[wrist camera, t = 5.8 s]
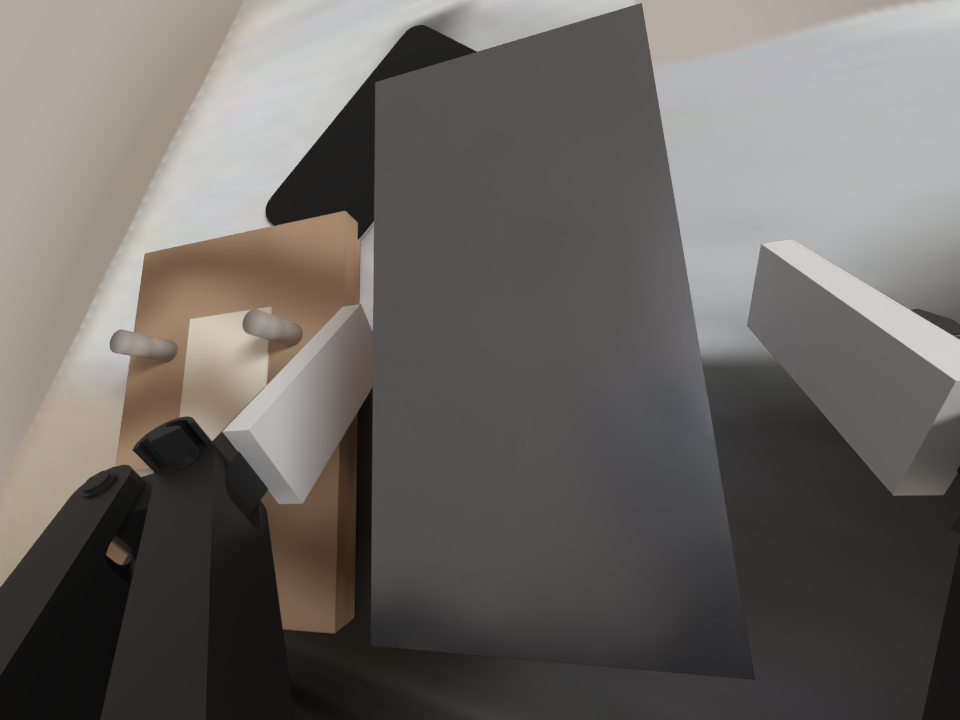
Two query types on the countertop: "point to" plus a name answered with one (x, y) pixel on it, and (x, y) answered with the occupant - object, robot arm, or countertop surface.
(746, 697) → the countertop surface
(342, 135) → the smartphone
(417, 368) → the block
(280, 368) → the dock
